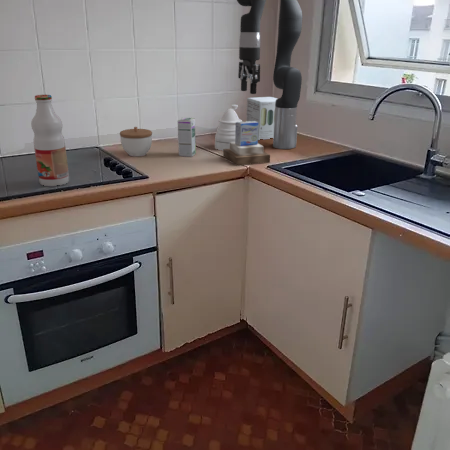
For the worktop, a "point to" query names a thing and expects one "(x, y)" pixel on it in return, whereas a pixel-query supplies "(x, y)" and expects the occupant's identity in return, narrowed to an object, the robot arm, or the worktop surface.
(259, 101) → the supplement box
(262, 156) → the plinth
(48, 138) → the fruit juice
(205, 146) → the worktop surface
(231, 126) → the honey pot
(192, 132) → the syrup box
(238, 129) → the medicine box
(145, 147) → the lidded bowl
